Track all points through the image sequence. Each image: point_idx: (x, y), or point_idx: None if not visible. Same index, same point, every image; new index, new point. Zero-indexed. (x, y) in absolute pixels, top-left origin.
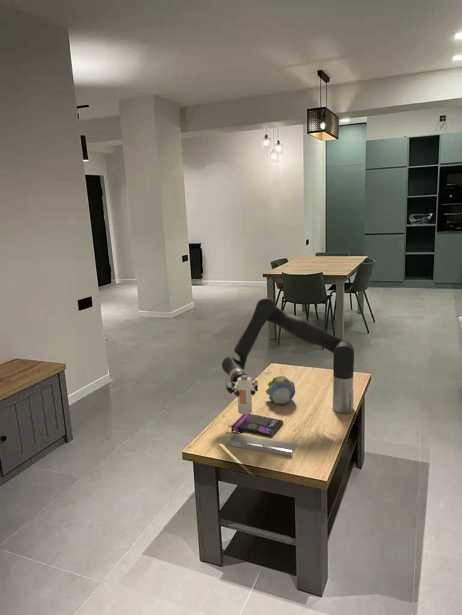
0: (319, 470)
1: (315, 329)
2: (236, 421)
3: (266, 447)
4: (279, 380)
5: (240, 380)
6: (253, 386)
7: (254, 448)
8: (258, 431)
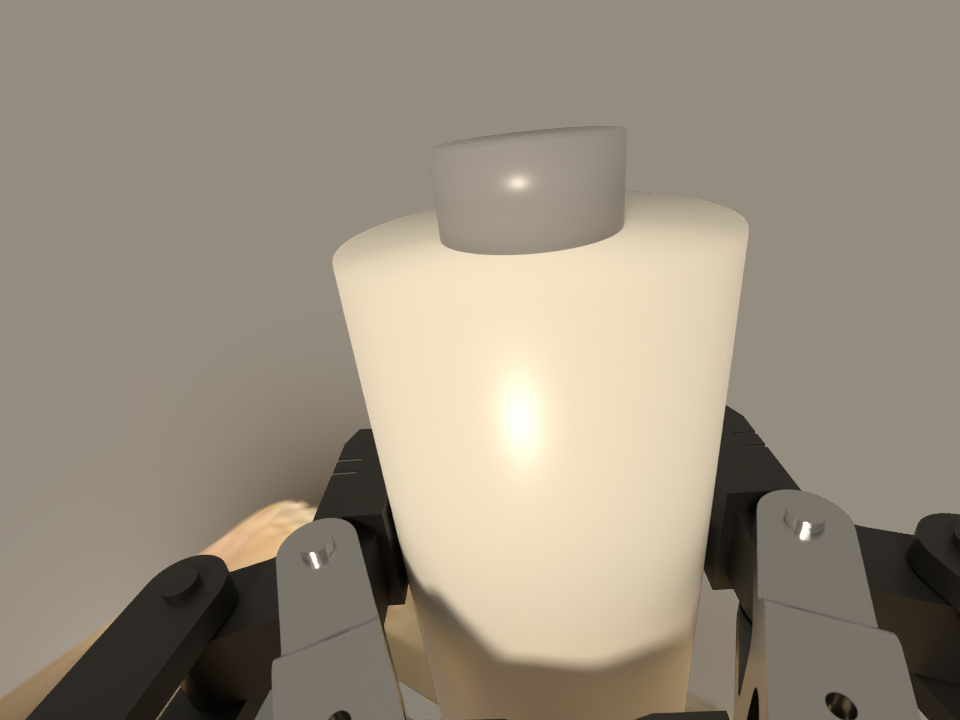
0: (246, 545)
1: None
2: None
3: (418, 695)
4: None
5: (635, 202)
6: (301, 528)
7: None
8: None
